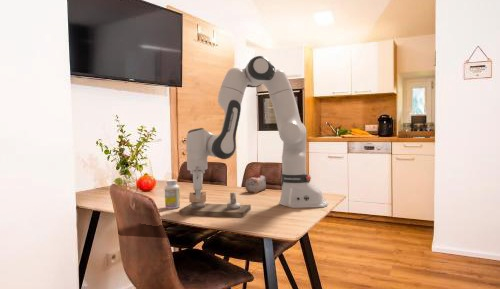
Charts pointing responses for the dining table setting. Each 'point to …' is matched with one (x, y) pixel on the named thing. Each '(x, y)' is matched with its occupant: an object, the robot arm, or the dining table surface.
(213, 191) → the dining table surface
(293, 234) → the dining table surface
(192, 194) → the tan faceted disc
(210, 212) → the board
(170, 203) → the supplement bottle
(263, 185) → the food item
